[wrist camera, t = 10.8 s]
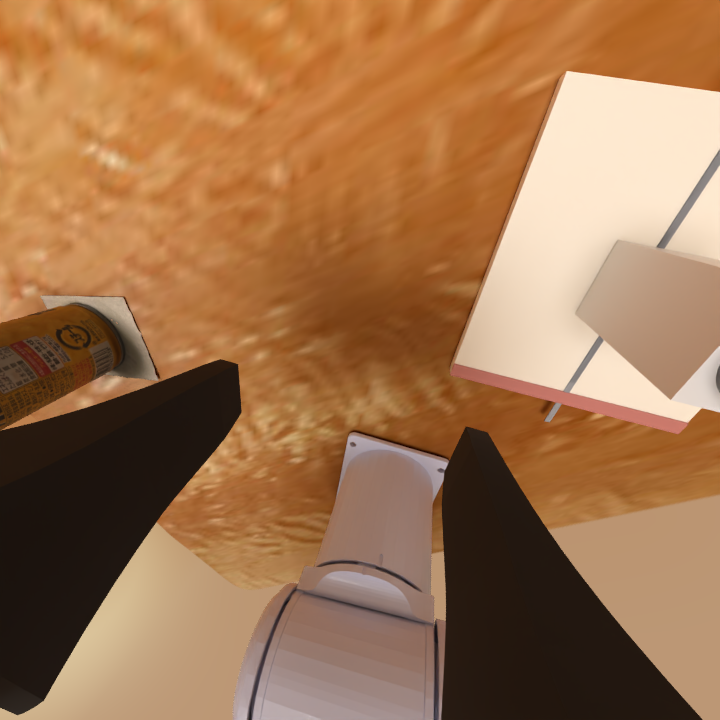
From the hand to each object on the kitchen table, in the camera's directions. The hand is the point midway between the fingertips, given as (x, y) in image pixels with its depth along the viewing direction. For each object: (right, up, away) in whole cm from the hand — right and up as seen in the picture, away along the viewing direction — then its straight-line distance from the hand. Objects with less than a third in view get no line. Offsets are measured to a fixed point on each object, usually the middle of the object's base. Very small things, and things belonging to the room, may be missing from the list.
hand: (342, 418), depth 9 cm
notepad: (+14, +6, +5) cm, 16 cm away
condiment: (-21, +4, +16) cm, 27 cm away
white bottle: (+13, +5, +5) cm, 15 cm away
